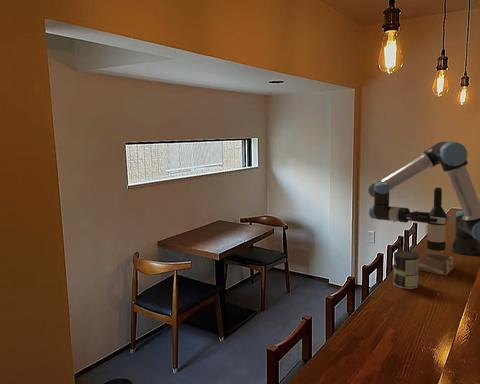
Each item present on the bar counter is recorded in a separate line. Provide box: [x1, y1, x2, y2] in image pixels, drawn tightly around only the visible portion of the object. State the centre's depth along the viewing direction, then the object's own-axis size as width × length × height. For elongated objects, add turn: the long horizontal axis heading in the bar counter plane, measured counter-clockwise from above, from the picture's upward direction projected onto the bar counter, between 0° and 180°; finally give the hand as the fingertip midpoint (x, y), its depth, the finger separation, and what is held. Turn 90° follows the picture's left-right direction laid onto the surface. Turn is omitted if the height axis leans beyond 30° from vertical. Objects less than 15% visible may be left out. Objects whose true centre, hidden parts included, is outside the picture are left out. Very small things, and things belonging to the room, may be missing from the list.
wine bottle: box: [426, 186, 448, 252], centre depth 191 cm, size 8×8×30 cm
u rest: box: [418, 252, 455, 276], centre depth 194 cm, size 12×12×6 cm
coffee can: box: [392, 250, 420, 290], centre depth 175 cm, size 10×10×14 cm
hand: (447, 219), depth 188 cm, fingers closed on wine bottle, 8 cm apart
